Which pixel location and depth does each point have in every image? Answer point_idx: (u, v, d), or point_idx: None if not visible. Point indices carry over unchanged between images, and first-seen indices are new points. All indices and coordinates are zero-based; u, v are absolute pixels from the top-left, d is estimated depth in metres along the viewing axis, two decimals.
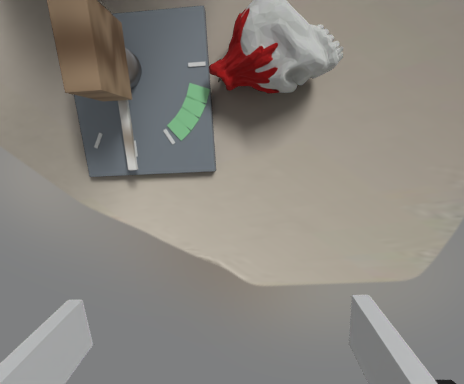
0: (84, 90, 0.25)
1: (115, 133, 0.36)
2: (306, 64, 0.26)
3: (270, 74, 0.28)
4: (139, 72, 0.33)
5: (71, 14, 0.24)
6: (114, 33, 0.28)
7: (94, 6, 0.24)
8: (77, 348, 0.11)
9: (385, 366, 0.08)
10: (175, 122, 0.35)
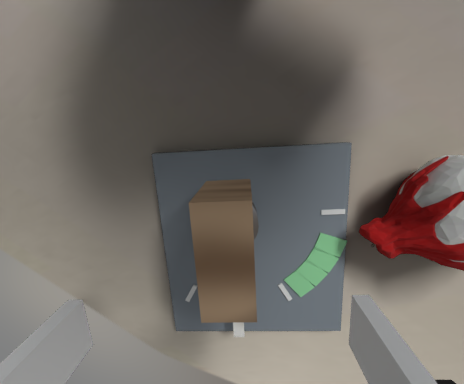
0: (230, 321, 0.17)
1: None
2: None
3: None
4: None
5: (225, 230, 0.15)
6: None
7: None
8: (77, 348, 0.11)
9: (384, 366, 0.08)
10: (295, 277, 0.27)
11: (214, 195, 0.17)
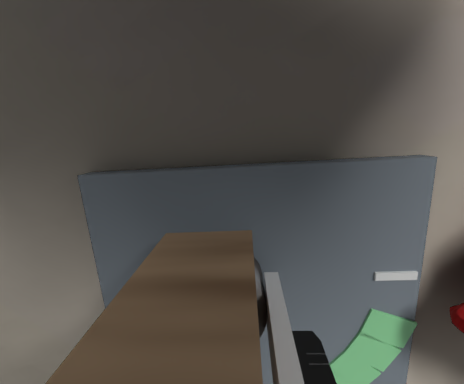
0: None
1: None
2: None
3: None
4: None
5: None
6: None
7: None
8: None
9: (269, 323, 0.11)
10: None
11: (152, 319, 0.06)
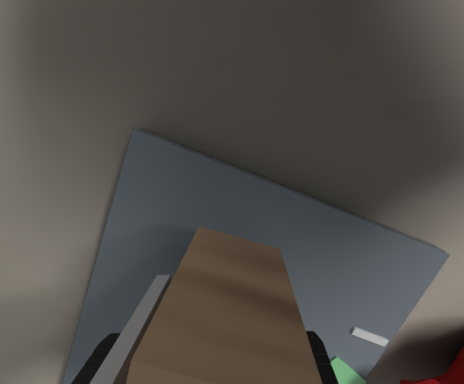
0: None
1: None
2: None
3: None
4: None
5: None
6: None
7: None
8: None
9: None
10: None
11: (214, 318, 0.06)
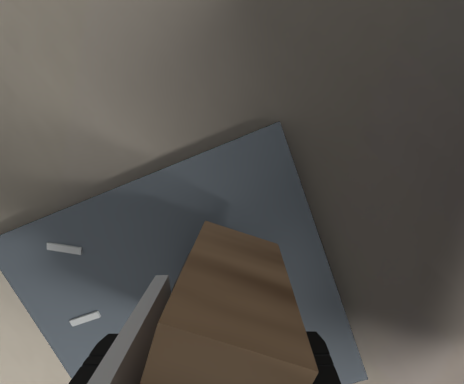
0: None
1: (95, 277, 0.17)
2: None
3: None
4: None
5: None
6: None
7: None
8: None
9: None
10: None
11: (222, 296, 0.07)
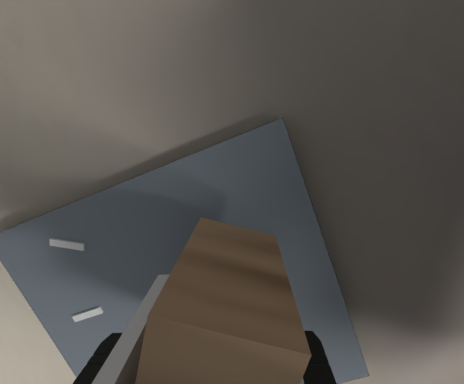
0: None
1: (98, 273, 0.17)
2: None
3: None
4: None
5: None
6: None
7: None
8: None
9: None
10: None
11: (215, 287, 0.07)
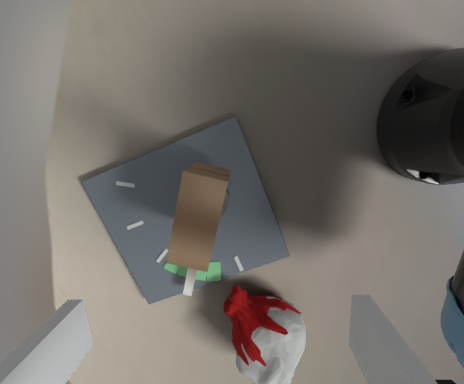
0: (188, 267, 0.23)
1: (141, 200, 0.32)
2: None
3: (243, 358, 0.30)
4: None
5: (203, 198, 0.21)
6: None
7: None
8: (77, 348, 0.11)
9: (385, 367, 0.08)
10: None
11: (201, 172, 0.22)
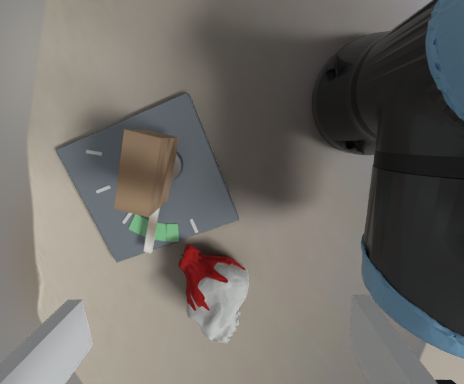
0: (132, 212, 0.27)
1: (108, 167, 0.37)
2: (203, 332, 0.34)
3: (191, 305, 0.35)
4: (180, 173, 0.35)
5: (142, 152, 0.26)
6: (171, 153, 0.30)
7: (164, 146, 0.27)
8: (77, 348, 0.11)
9: (385, 367, 0.08)
10: (141, 220, 0.38)
11: (143, 132, 0.27)
